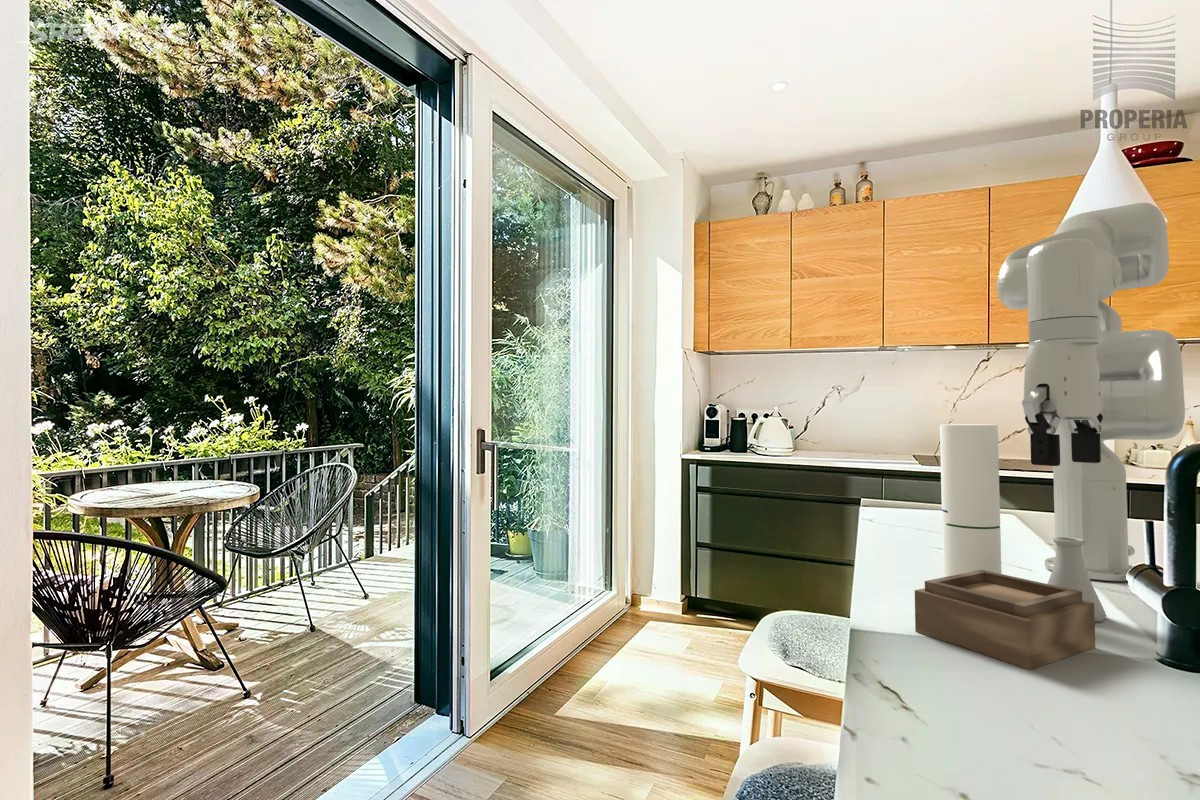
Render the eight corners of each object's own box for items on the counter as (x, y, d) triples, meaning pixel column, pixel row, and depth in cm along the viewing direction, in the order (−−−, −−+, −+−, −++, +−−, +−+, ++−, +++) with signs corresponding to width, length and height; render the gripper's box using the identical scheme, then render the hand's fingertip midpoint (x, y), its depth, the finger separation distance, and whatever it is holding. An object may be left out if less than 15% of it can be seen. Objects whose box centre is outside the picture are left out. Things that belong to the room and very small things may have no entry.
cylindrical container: (985, 593, 91) (981, 424, 92) (1013, 608, 84) (1008, 424, 85) (935, 592, 92) (931, 424, 93) (957, 607, 85) (953, 425, 86)
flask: (1024, 610, 83) (1023, 536, 84) (1058, 603, 86) (1056, 531, 87) (1084, 627, 77) (1082, 546, 77) (1119, 619, 80) (1116, 541, 80)
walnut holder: (980, 615, 82) (979, 567, 82) (1095, 647, 70) (1093, 592, 70) (915, 631, 76) (914, 580, 76) (1029, 669, 64) (1027, 609, 64)
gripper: (1066, 341, 90) (1070, 459, 89) (995, 334, 82) (998, 464, 81) (1129, 335, 83) (1133, 463, 83) (1058, 327, 75) (1061, 468, 75)
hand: (1066, 463), depth 82 cm, fingers open, 9 cm apart
